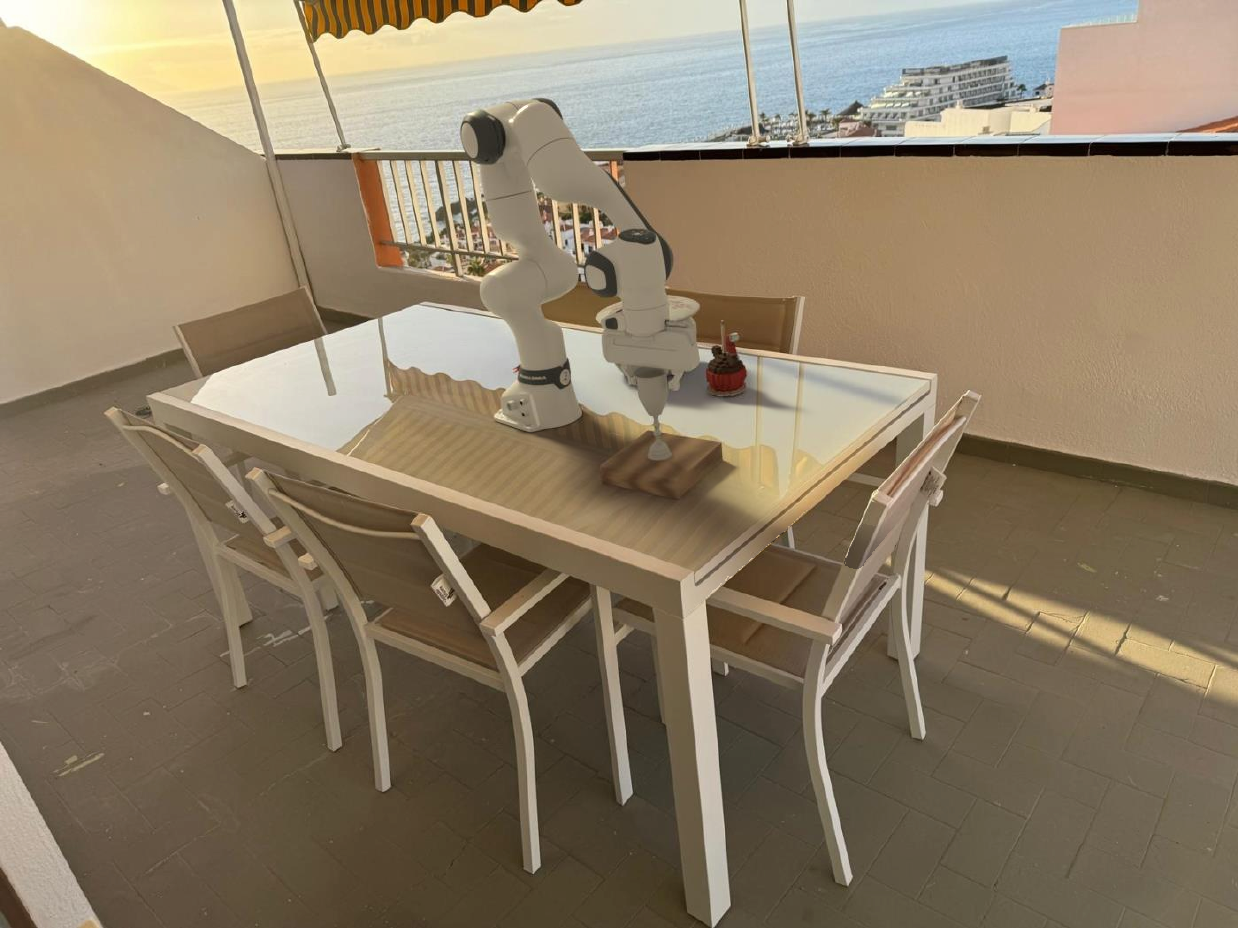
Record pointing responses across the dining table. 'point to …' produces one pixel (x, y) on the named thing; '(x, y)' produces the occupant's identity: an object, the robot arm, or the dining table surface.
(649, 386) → the chalice
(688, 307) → the chamber pot
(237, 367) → the dining table surface
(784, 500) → the dining table surface
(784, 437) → the dining table surface
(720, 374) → the cake
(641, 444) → the plinth
